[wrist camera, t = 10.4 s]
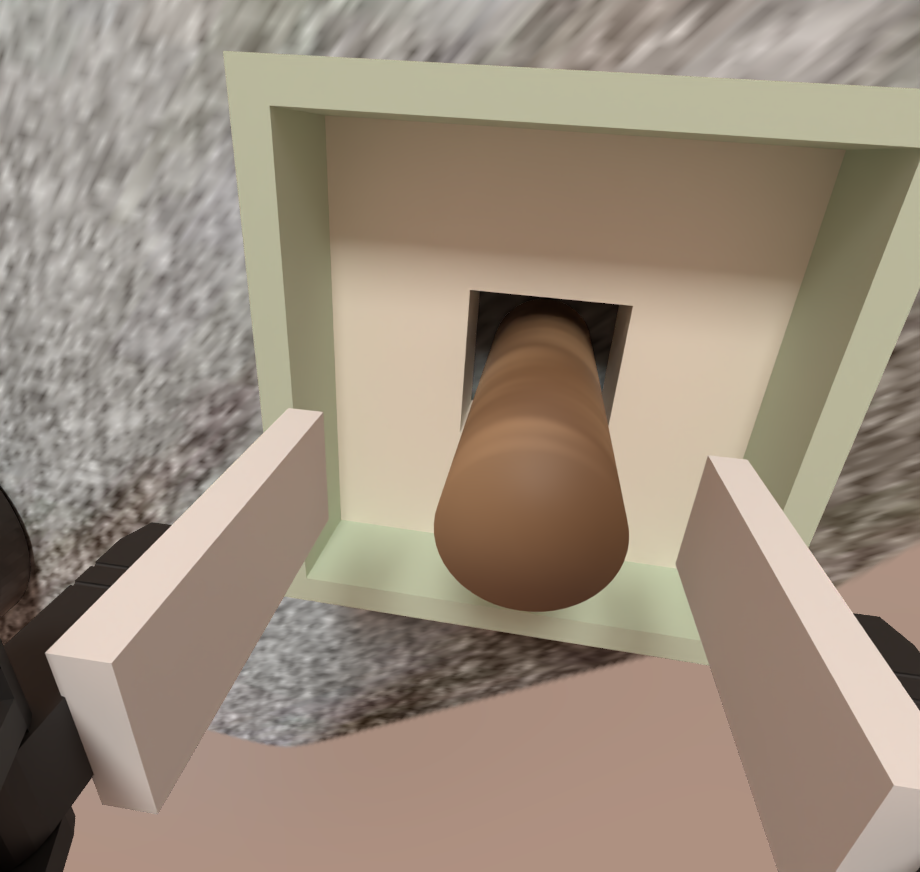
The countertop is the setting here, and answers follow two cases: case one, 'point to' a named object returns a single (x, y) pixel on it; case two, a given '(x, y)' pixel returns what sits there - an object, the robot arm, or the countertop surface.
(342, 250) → the peg box
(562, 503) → the peg
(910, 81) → the countertop surface
